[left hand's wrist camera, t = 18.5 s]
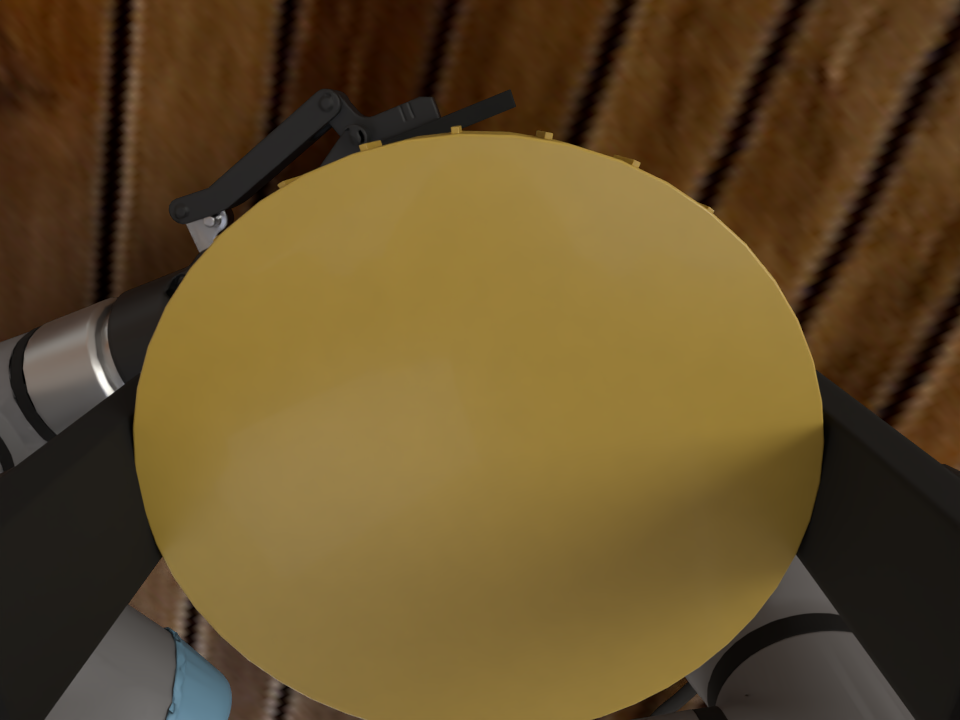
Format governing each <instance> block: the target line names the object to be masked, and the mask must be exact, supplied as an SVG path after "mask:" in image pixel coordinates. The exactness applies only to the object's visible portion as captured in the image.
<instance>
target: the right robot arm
mask: <svg viewBox="0 0 960 720" xmlns="http://www.w3.org/2000/svg"><path fill="white" fill-rule="evenodd" d="M514 107H516V105H515V102H514V99H513V96H512V93H511V90H507V91H505V92H503V93H500V94H498V95H495V96H493V97H490V98H488V99H485V100H483V101H481V102H478V103H476V104H473V105H471V106H468V107H466V108H463V109H461V110H459V111H456V112H454V113H451V114H449V115H446V116H444V117H441V115H440V113H439V110H438V107H437V105H436V102H435V99H434V98H433V97H418V98H416V99H413V100H411V101H409V102H406V103H404V104H401V105H399V106H397V107H394V108H392V109H389V110H387V111H385V112H382V113H380V114H377V115H375V116H372V117H366V116H364V115H362V114H361V113H360V112H359V111H358V110H357V109H356V108H355V107H354V105H353V104H352V103H351V102H350V100H349V98H348V97H347V95H346V94H344V93H343V92H340V91H337V90H331V89H321V90H319V91H318V92H316V93H315V94H314V95H313V96H312V97H311V98H310V99H308V100H307V101H306V102H305V103H304V104H303V105H302V106H301V107H299V108H298V109H297V110H296V111H295V112H294V113H293V114H291V115H290V116H289V117H288V118H287V119H286V120H285V121H284V122H282V123H281V124H280V125H279V126H278V127H277V128H276V129H275V130H273V131H272V132H271V133H270V134H269V135H268V136H267V137H265V138H264V139H263V140H262V141H261V142H260V143H259V144H258V145H256V146H255V147H254V148H253V149H252V150H251V151H250V152H249V153H247V154H246V155H245V156H244V157H243V158H242V159H241V160H240V161H238V162H237V163H236V164H235V165H234V166H233V167H232V168H230V169H229V170H228V171H227V172H226V173H225V174H224V175H223V176H221V177H220V178H219V179H218V180H217V181H216V182H215V183H214V184H212V185H211V186H210V187H209V188H207V189H204V190H201V191H198V192H195V193H192V194H189V195H186V196H183V197H180V198H177V199H175V200H173V201H172V202H171V204H170V205H169V213H170V216H171V217H172V218H173V220H175V221H176V222H177V223H180V224H186V225H187V227H188V229H189V232H190V234H191V236H192V238H193V240H194V242H195V244H196V246H197V248H198V251H199V254H198V255H197V256H196V258H195V259H194V261H193V262H192V263H191V264H190V265H189V266H188V267H186V268H183V269H181V270H178V271H176V272H173V273H171V274H168V275H166V276H163V277H161V278H158V279H156V280H153V281H151V282H148V283H146V284H143V285H141V286H138V287H136V288H133V289H131V290H128V291H126V292H124V293H123V294H121V295H120V296H119V297H118V298H117V297H111V298H109V299H106V300H103V301H101V302H98V303H96V304H93V305H91V306H88V307H86V308H83V309H81V310H78V311H76V312H73V313H70V314H68V315H65V316H63V317H60V318H58V319H55V320H53V321H50V322H48V323H45V324H44V325H42V326H40V327H38V328H35V329H33V330H31V331H30V332H27V333H25V334H22V335H19V336H16V337H14V338H11V339H8V340H6V341H3V342H0V473H2V472H5V471H7V470H9V469H11V468H13V467H15V466H16V465H18V464H19V463H20V462H22V461H23V460H24V459H26V458H27V457H28V456H30V455H31V454H32V453H34V452H35V451H36V450H38V449H39V448H40V447H42V446H43V445H44V444H46V443H47V442H48V441H50V440H51V439H52V438H54V437H55V436H56V435H58V434H59V433H60V432H62V431H63V430H64V429H66V428H67V427H68V426H70V425H71V424H72V423H74V422H75V421H76V420H78V419H79V418H80V417H82V416H83V415H84V414H86V413H87V412H88V411H90V410H91V409H92V408H94V407H95V406H96V405H98V404H99V403H100V402H102V401H103V400H104V399H106V398H107V397H108V396H109V395H111V394H112V393H113V392H115V391H116V390H117V389H119V388H120V387H121V386H123V385H124V384H125V383H127V382H128V381H129V380H131V379H132V378H133V377H135V376H136V375H137V374H139V373H140V372H141V371H142V367H143V363H144V359H145V356H146V352H147V348H148V345H149V343H150V341H151V338H152V336H153V334H154V332H155V329H156V327H157V325H158V322H159V320H160V318H161V316H162V313H163V311H164V309H165V307H166V305H167V303H168V302H169V300H170V299H171V297H172V296H173V294H174V293H175V291H176V289H177V288H178V286H179V285H180V283H181V282H182V280H183V279H184V277H185V275H186V274H187V272H188V271H189V269H190V268H191V267H192V265H193V264H194V263H195V262H196V261H197V260H198V259H199V258H200V256H201V255H202V254H203V253H204V252H205V251H206V250H207V249H208V247H209V246H210V245H211V244H212V243H213V242H214V241H213V239H214V238H215V237H216V236H218V235H220V234H221V233H222V232H223V231H224V230H225V229H227V228H228V227H229V226H230V225H231V224H233V221H234V215H233V212H232V209H231V208H233V207H236V206H238V205H240V204H242V203H243V202H245V201H246V200H248V199H249V198H250V197H252V196H253V195H254V194H255V193H256V192H257V191H259V190H260V189H261V188H262V187H263V186H264V185H266V184H267V183H268V182H269V181H270V180H271V179H273V178H274V177H275V176H276V175H277V174H278V173H280V172H281V171H282V170H283V169H284V168H285V167H286V166H288V165H289V164H290V163H291V162H292V161H293V160H295V159H296V158H297V157H298V156H299V155H300V154H302V153H303V152H304V151H305V150H306V149H307V148H309V147H310V146H311V145H312V144H313V143H314V142H316V141H317V140H318V139H319V138H320V137H321V136H322V135H324V134H325V133H326V132H327V131H328V130H329V129H331V128H332V127H333V128H334V130H335V131H336V132H337V133H338V134H339V135H340V136H341V137H340V138H339V140H338V141H337V142H336V144H335V145H334V147H333V148H332V150H331V151H330V153H329V154H328V155H327V157H326V158H325V160H324V161H323V163H322V164H321V166H320V167H322V166H325V165H327V164H329V163H332V162H334V161H337V160H339V159H341V158H344V157H346V156H348V155H351V154H353V153H357V152H361V151H360V148H359V145H362V144H365V143H369V142H374V141H379V140H380V141H381V143H382V146H383V145H387V144H390V143H394V142H398V141H402V140H406V139H409V138H413V137H417V136H424V135H433V134H441V133H450V132H451V127H454V126H461V128H464V127H467V126H469V125H472V124H474V123H477V122H479V121H482V120H484V119H487V118H489V117H492V116H494V115H497V114H499V113H501V112H504V111H506V110H509V109H511V108H514ZM320 167H319V168H320ZM231 702H232V695H231V688H230V685H229V683H228V681H227V679H226V678H225V676H224V675H223V674H222V673H221V672H220V671H219V670H217V669H216V668H215V667H214V666H213V665H212V664H210V663H209V662H208V661H207V660H206V659H205V658H203V657H202V656H201V655H200V654H199V653H197V652H196V651H195V650H194V649H193V648H192V647H190V646H189V645H188V644H187V643H186V642H185V641H183V640H182V639H181V638H180V637H179V635H178V634H177V632H174V631H173V630H172V629H170V628H169V627H166V628H162V627H161V626H159V625H158V624H156V623H155V622H153V621H152V620H150V619H149V618H147V617H146V616H145V615H143V614H142V613H140V612H139V611H137V610H136V609H134V608H133V607H131V606H130V605H127V606H126V607H125V609H124V610H123V612H122V613H121V614H120V616H119V617H118V619H117V620H116V621H115V623H114V624H113V625H112V627H111V628H110V630H109V631H108V632H107V634H106V635H105V637H104V638H103V639H102V641H101V642H100V643H99V645H98V646H97V648H96V649H95V650H94V652H93V653H92V655H91V656H90V657H89V659H88V660H87V661H86V663H85V664H84V666H83V667H82V668H81V670H80V671H79V673H78V674H77V675H76V677H75V678H74V680H73V681H72V682H71V684H70V685H69V686H68V688H67V689H66V691H65V692H64V693H63V695H62V696H61V698H60V699H59V700H58V702H57V703H56V704H55V706H54V707H53V709H52V710H51V711H50V713H49V714H48V716H47V717H46V718H45V720H228V717H229V714H230V709H231Z"/></svg>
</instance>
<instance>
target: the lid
mask: <svg viewBox="0 0 960 720" xmlns="http://www.w3.org/2000/svg"><path fill="white" fill-rule="evenodd" d="M536 136H537V137H536ZM536 136H530V135H524V134H518V133H512V132H489V131H462V128H461V126H454V127H451V132H450V133H441V134H433V135H424V136H417V137H413V138H409V139H406V140H402V141H398V142H394V143H390V144H387V145H383V146H382V143H381V141H380V140H379V141H374V142H369V143H365V144H362V145H359V148H360V151H361V152H357V153H353V154H351V155H348V156H346V157H344V158H341V159H339V160H337V161H334V162H332V163H329V164H327V165H325V166H322V167H320V168H318V169H315V170H313V171H310V172H308V173H306V174H304V175H301V176H298V177H295V178H291V179H288V180H285V181H282V182H281V183H279V184H278V187H279V188H280V189H279V190H277V191H275V192H274V193H272V194H270V195H269V196H267V197H265V198H264V199H262V200H261V201H259V202H258V203H257V204H256V205H254V206H253V207H252V208H251V209H250V210H248V211H247V212H246V213H245V214H244V215H242V216H241V217H240V218H239V219H237V220H236V221H235V222H234V223H233V224H231V225H230V226H229V227H228V228H227V229H225V230H224V231H223V232H222V233H221V234H220V235H218V236H216V237H215V238H214V239H213V241H214V242H213V243H212V244H211V245H210V246H209V247H208V249H207V250H206V251H205V252H204V253H203V254H202V255H201V256H200V258H199V259H198V260H197V261H196V262H195V263H194V264H193V265H192V267H191V268H190V269H189V271H188V272H187V274H186V275H185V277H184V279H183V280H182V282H181V283H180V285H179V286H178V288H177V289H176V291H175V293H174V294H173V296H172V297H171V299H170V300H169V302H168V303H167V305H166V307H165V309H164V311H163V313H162V316H161V318H160V320H159V322H158V325H157V327H156V329H155V332H154V334H153V336H152V338H151V341H150V343H149V345H148V348H147V352H146V356H145V359H144V363H143V367H142V371H141V375H140V378H139V382H138V386H137V393H136V403H135V413H134V422H133V442H134V461H135V467H136V472H137V476H138V481H139V485H140V490H141V494H142V499H143V503H144V507H145V511H146V515H147V519H148V523H149V526H150V529H151V531H152V534H153V537H154V540H155V543H156V545H157V547H158V549H159V550H160V552H161V554H162V556H163V558H164V560H165V562H166V564H167V566H168V568H169V569H170V571H171V573H172V575H173V577H174V578H175V580H176V581H177V583H178V584H179V586H180V587H181V588H182V590H183V591H184V593H185V594H186V596H187V597H188V598H189V600H190V601H191V603H192V604H193V606H194V607H195V608H196V609H197V610H198V612H199V613H200V614H201V615H202V616H203V617H204V618H205V619H206V620H207V621H208V623H209V624H210V625H211V626H212V627H213V628H214V629H215V630H216V631H217V633H218V634H219V635H220V636H221V637H223V638H224V639H225V640H226V641H227V642H228V643H229V644H231V645H232V646H233V647H234V648H235V649H236V650H237V651H239V652H240V653H241V654H242V655H243V656H244V657H245V658H247V659H248V660H249V661H250V662H252V663H253V664H255V665H256V666H258V667H259V668H261V669H262V670H263V671H265V672H266V673H268V674H269V675H271V676H272V677H274V678H275V679H276V680H278V681H279V682H281V683H283V684H285V685H287V686H289V687H290V688H292V689H294V690H296V691H298V692H300V693H301V694H303V695H305V696H307V697H309V698H310V699H313V700H315V701H317V702H320V703H322V704H324V705H327V706H329V707H332V708H334V709H336V710H339V711H341V712H343V713H346V714H349V715H352V716H356V717H359V718H362V719H365V720H592V719H596V718H600V717H602V716H605V715H608V714H610V713H613V712H616V711H618V710H621V709H623V708H626V707H629V706H631V705H634V704H636V703H638V702H640V701H642V700H644V699H646V698H648V697H650V696H652V695H654V694H656V693H658V692H660V691H662V690H664V689H666V688H668V687H669V686H671V685H672V684H674V683H676V682H677V681H679V680H680V679H682V678H683V677H685V676H686V675H688V674H690V673H691V672H693V671H694V670H696V669H697V668H699V667H700V666H701V665H703V664H704V663H705V662H706V661H708V660H709V659H710V658H711V657H713V656H714V655H715V654H716V653H717V652H719V651H720V650H721V649H722V648H724V647H725V646H726V645H727V644H729V642H730V641H731V640H732V639H733V638H734V637H735V636H736V635H737V634H738V633H739V632H740V631H741V630H742V629H743V628H744V627H745V626H746V625H747V624H748V623H749V622H750V621H751V620H752V619H753V618H754V617H755V616H756V614H757V613H758V612H759V610H760V609H761V608H762V606H763V605H764V604H765V602H766V601H767V600H768V599H769V597H770V596H771V595H772V593H773V592H774V591H775V589H776V588H777V587H778V585H779V583H780V581H781V580H782V578H783V576H784V575H785V573H786V571H787V569H788V568H789V566H790V564H791V562H792V561H793V559H794V557H795V556H796V554H797V551H798V549H799V546H800V544H801V541H802V539H803V537H804V534H805V532H806V529H807V527H808V524H809V522H810V520H811V516H812V512H813V508H814V504H815V500H816V496H817V492H818V488H819V484H820V478H821V468H822V458H823V449H824V430H823V410H822V399H821V394H820V390H819V385H818V380H817V375H816V370H815V366H814V361H813V358H812V355H811V353H810V350H809V347H808V345H807V342H806V339H805V337H804V334H803V332H802V329H801V326H800V324H799V321H798V319H797V317H796V315H795V314H794V312H793V310H792V308H791V307H790V305H789V303H788V301H787V300H786V298H785V296H784V294H783V293H782V291H781V289H780V287H779V286H778V284H777V282H776V280H775V279H774V278H773V277H772V276H771V274H770V273H769V272H768V270H767V269H766V268H765V267H764V266H763V264H762V263H761V262H760V261H759V259H758V258H757V257H756V256H755V254H754V253H753V252H752V251H751V249H750V248H749V247H748V246H747V244H746V243H745V242H744V241H742V240H741V239H740V238H739V237H738V236H737V235H736V234H735V233H734V232H733V231H732V230H730V229H729V228H728V227H727V226H726V225H725V224H724V223H723V222H722V221H721V220H720V219H718V218H717V217H716V216H715V215H714V214H713V212H714V210H713V209H711V208H710V207H708V206H706V205H703V204H700V203H698V202H696V201H695V200H693V199H692V198H690V197H689V196H687V195H686V194H684V193H683V192H681V191H680V190H678V189H677V188H675V187H674V186H672V185H671V184H669V183H668V182H666V181H664V180H662V179H660V178H658V177H655V176H653V175H651V174H649V173H647V172H645V171H643V170H641V169H639V168H638V167H639V165H640V162H638V161H636V160H633V159H629V158H625V157H622V156H618V155H614V157H610V156H607V155H604V154H601V153H597V152H594V151H591V150H588V149H585V148H581V147H578V146H575V145H572V144H569V143H565V142H561V141H558V140H554V139H552V136H553V134H552V133H548V132H543V131H537V133H536Z"/></svg>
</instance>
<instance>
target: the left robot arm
mask: <svg viewBox="0 0 960 720" xmlns="http://www.w3.org/2000/svg"><path fill="white" fill-rule="evenodd" d="M140 375H141V372H140V373H139V374H137V375H136V376H135V377H133V378H132V379H131V380H129V381H128V382H127V383H125V384H124V385H123V386H121V387H120V388H119V389H117V390H116V391H115V392H113V393H112V394H111V395H109V396H108V397H107V398H106V399H104V400H103V401H102V402H100V403H99V404H98V405H96V406H95V407H94V408H92V409H91V410H90V411H88V412H87V413H86V414H84V415H83V416H82V417H80V418H79V419H78V420H76V421H75V422H74V423H72V424H71V425H70V426H68V427H67V428H66V429H64V430H63V431H62V432H60V433H59V434H58V435H56V436H55V437H54V438H52V439H51V440H50V441H48V442H47V443H46V444H44V445H43V446H42V447H40V448H39V449H38V450H36V451H35V452H34V453H32V454H31V455H30V456H28V457H27V458H26V459H24V460H23V461H22V462H20V463H19V464H18V465H16V466H15V467H13V468H11V469H9V470H7V471H5V472H2V473H0V720H45V718H46V717H47V716H48V714H49V713H50V711H51V710H52V709H53V707H54V706H55V704H56V703H57V702H58V700H59V699H60V698H61V696H62V695H63V693H64V692H65V691H66V689H67V688H68V686H69V685H70V684H71V682H72V681H73V680H74V678H75V677H76V675H77V674H78V673H79V671H80V670H81V668H82V667H83V666H84V664H85V663H86V661H87V660H88V659H89V657H90V656H91V655H92V653H93V652H94V650H95V649H96V648H97V646H98V645H99V643H100V642H101V641H102V639H103V638H104V637H105V635H106V634H107V632H108V631H109V630H110V628H111V627H112V625H113V624H114V623H115V621H116V620H117V619H118V617H119V616H120V614H121V613H122V612H123V610H124V609H125V607H126V606H127V605H128V603H129V602H130V601H131V599H132V598H133V596H134V595H135V594H136V592H137V591H138V589H139V588H140V587H141V585H142V584H143V583H144V581H145V580H146V578H147V577H148V576H149V574H150V573H151V571H152V570H153V569H154V567H155V566H156V565H157V563H158V562H159V560H160V559H161V558H162V554H161V552H160V550H159V549H158V547H157V545H156V543H155V540H154V537H153V534H152V531H151V529H150V526H149V523H148V519H147V515H146V511H145V507H144V503H143V499H142V494H141V490H140V485H139V481H138V476H137V472H136V467H135V461H134V442H133V422H134V413H135V403H136V393H137V386H138V382H139V378H140ZM816 375H817V380H818V385H819V390H820V394H821V399H822V410H823V430H824V449H823V458H822V468H821V478H820V484H819V488H818V492H817V496H816V500H815V504H814V508H813V512H812V516H811V520H810V522H809V524H808V527H807V529H806V532H805V534H804V537H803V539H802V541H801V544H800V546H799V549H798V551H797V554H796V556H795V557H794V559H793V561H792V562H791V564H790V566H789V568H788V569H787V571H786V573H785V575H784V576H783V578H782V580H781V581H780V583H779V585H778V587H777V588H776V589H775V591H774V592H773V593H772V595H771V596H770V597H769V599H768V600H767V601H766V602H765V604H764V605H763V606H762V608H761V609H760V610H759V612H758V613H757V614H756V616H755V617H754V618H753V619H752V620H751V621H750V622H749V623H748V624H747V625H746V626H745V627H744V628H743V629H742V630H741V631H740V632H739V633H738V634H737V635H736V636H735V637H734V638H733V639H732V640H731V641H730V642H729V644H727V645H726V646H725V647H724V648H722V649H721V650H720V651H719V652H717V653H716V654H715V655H714V656H713V657H711V658H710V659H709V660H708V661H706V662H705V663H704V664H703V665H701V666H700V667H699V668H697V669H696V670H694V671H693V672H691V673H690V674H688V675H686V676H685V677H686V679H687V680H688V682H687V683H686V684H685V685H684V686H683V687H682V688H681V689H680V690H679V691H678V692H677V693H675V694H674V695H673V696H672V697H671V698H669V699H668V700H667V701H665V702H664V703H663V704H662V705H660V706H659V707H658V708H657V709H656V710H655V711H654V712H653V713H652V714H651V716H650V717H645V718H639V719H632V720H960V471H958V470H956V469H954V468H952V467H950V466H948V465H946V464H940V463H939V462H938V461H936V460H935V459H934V458H932V457H931V456H930V455H928V454H927V453H926V452H924V451H923V450H922V449H920V448H919V447H918V446H917V445H915V444H914V443H913V442H911V441H910V440H909V439H907V438H906V437H905V436H903V435H902V434H901V433H899V432H898V431H897V430H895V429H894V428H893V427H891V426H890V425H889V424H887V423H886V422H885V421H883V420H882V419H881V418H879V417H878V416H877V415H875V414H874V413H873V412H871V411H870V410H869V409H867V408H866V407H865V406H863V405H862V404H861V403H859V402H858V401H857V400H855V399H854V398H853V397H851V396H850V395H849V394H847V393H846V392H845V391H843V390H842V389H841V388H839V387H838V386H837V385H835V384H834V383H833V382H831V381H830V380H829V379H827V378H826V377H825V376H823V375H822V374H821V373H819V372H818V371H817V370H816ZM697 693H698V694H699V696H700V697H701V698H702V699H703V701H704V702H705V703H706V704H707V705H708V707H706V708H700V709H694V710H693V709H692V710H685V711H680V712H676V711H677V710H679V709H680V708H681V707H682V706H683V705H685V704H686V703H687V702H688V701H689V700H690V699H691V698H693V697H694V696H695V695H696V694H697Z"/></svg>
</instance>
